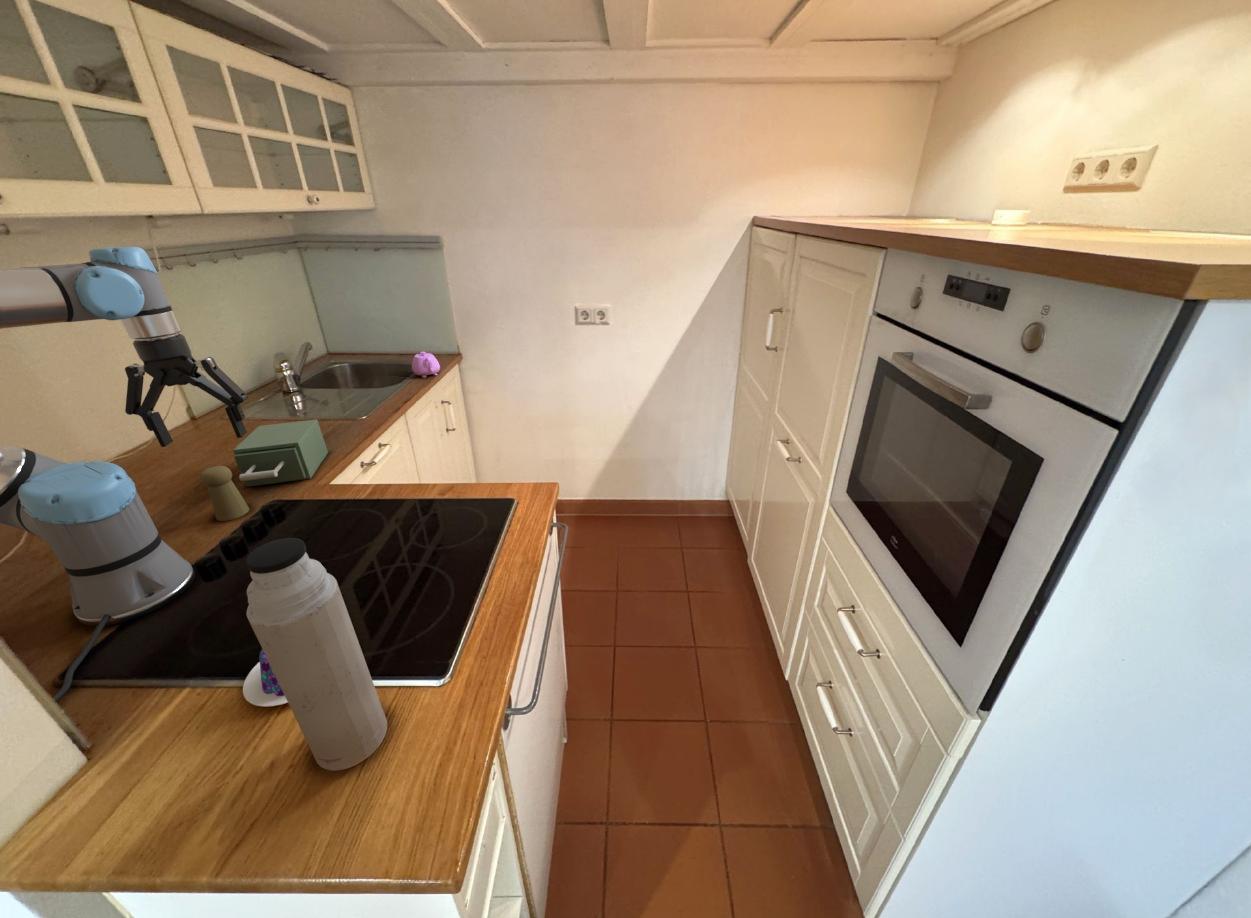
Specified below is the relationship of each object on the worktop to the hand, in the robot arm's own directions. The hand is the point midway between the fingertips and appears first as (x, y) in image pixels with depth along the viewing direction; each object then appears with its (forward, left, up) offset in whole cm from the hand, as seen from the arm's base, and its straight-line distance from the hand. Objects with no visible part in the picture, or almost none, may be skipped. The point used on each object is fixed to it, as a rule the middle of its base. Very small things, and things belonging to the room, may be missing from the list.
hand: (205, 439), depth 103 cm
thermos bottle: (-66, -38, -17) cm, 78 cm away
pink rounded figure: (+101, -30, -17) cm, 107 cm away
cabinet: (+20, -5, -17) cm, 27 cm away
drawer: (+14, -5, -16) cm, 22 cm away
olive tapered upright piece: (-1, 0, -17) cm, 17 cm away
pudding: (-53, -28, -17) cm, 62 cm away
